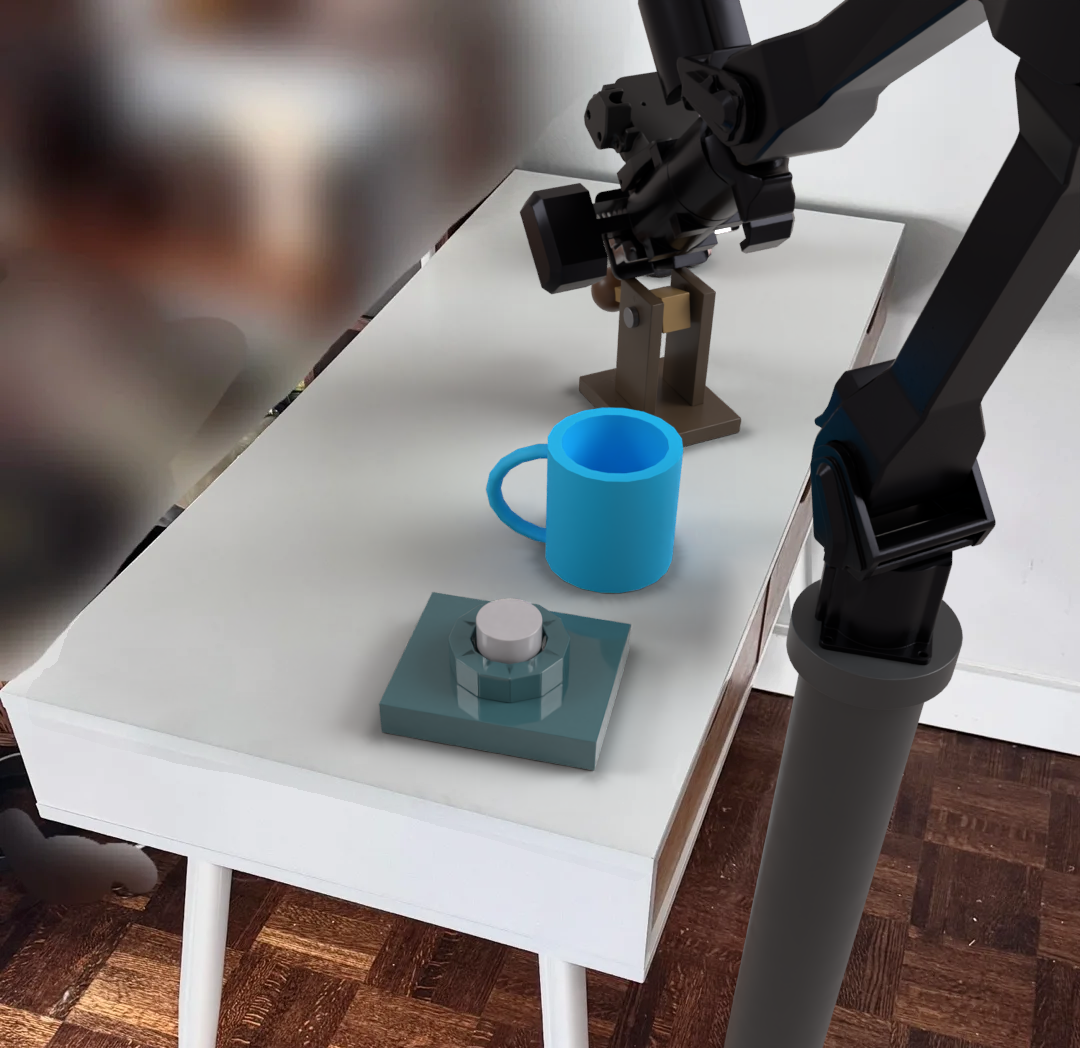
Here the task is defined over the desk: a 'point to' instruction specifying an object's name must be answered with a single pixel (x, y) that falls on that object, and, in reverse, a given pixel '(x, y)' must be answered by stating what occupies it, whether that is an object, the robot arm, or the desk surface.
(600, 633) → the block
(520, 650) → the flush button
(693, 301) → the lever bracket
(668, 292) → the flush lever
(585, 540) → the mug
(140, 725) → the desk surface
